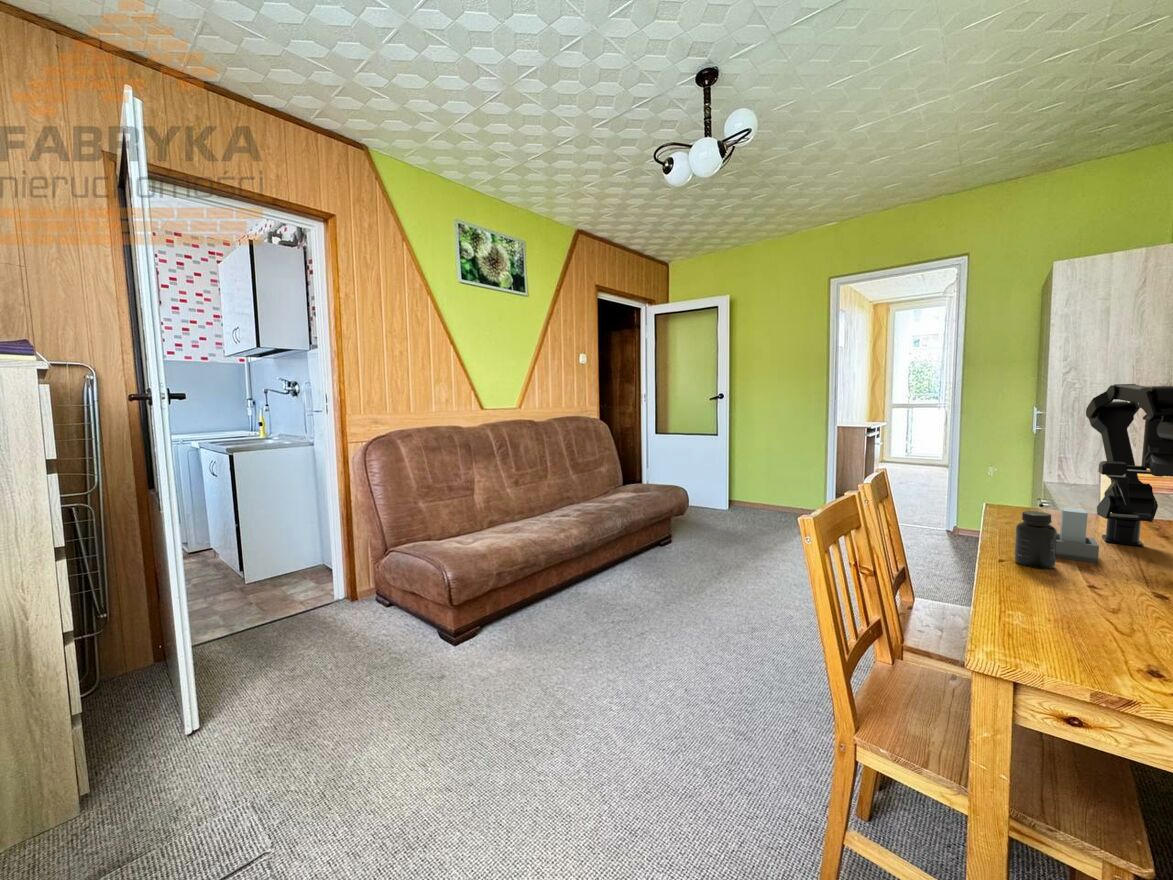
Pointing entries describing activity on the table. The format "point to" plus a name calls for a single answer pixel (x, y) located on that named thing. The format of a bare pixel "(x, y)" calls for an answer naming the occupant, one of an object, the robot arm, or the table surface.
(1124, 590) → the table surface
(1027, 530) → the supplement bottle
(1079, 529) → the blue-grey block
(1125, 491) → the robot arm
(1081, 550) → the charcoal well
